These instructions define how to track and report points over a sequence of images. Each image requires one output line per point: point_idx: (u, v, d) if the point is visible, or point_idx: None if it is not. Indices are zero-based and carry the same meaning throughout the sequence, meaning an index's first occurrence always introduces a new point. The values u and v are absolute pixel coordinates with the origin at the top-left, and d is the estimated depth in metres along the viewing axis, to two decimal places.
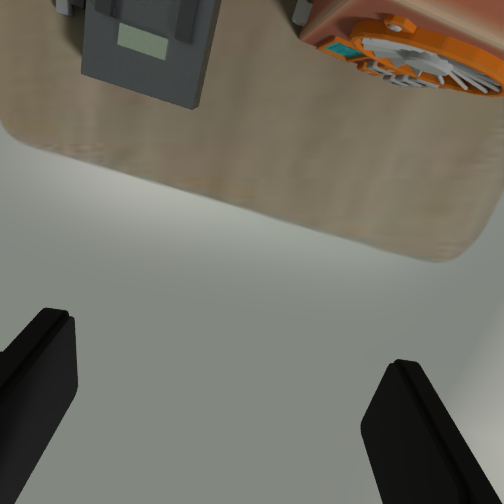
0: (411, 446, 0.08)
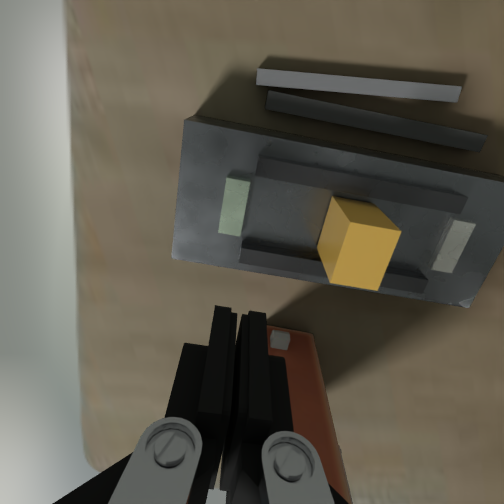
0: (235, 382, 0.09)
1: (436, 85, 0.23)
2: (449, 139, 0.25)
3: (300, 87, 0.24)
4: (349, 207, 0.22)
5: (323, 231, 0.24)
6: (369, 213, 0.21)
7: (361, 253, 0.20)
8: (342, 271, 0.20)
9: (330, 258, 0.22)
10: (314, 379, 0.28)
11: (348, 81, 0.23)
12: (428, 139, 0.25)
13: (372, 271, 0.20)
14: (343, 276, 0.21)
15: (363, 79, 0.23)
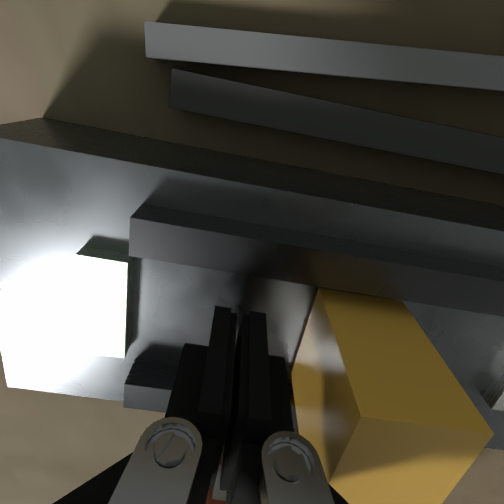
0: (235, 382, 0.09)
1: None
2: None
3: (237, 63, 0.12)
4: (355, 330, 0.10)
5: (302, 352, 0.12)
6: (400, 349, 0.09)
7: (387, 472, 0.08)
8: None
9: None
10: None
11: (335, 50, 0.11)
12: (491, 167, 0.13)
13: (411, 502, 0.09)
14: None
15: (366, 46, 0.11)
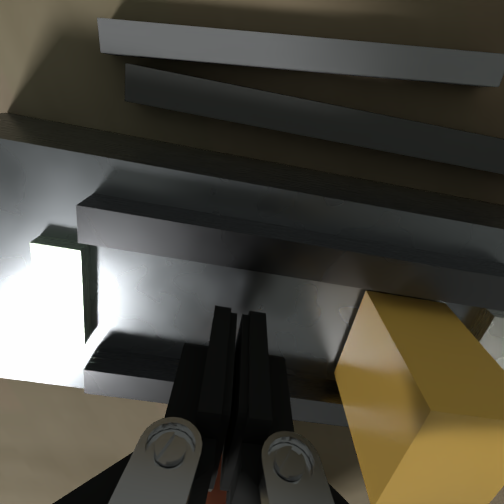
0: (235, 382, 0.09)
1: (459, 52, 0.12)
2: (481, 157, 0.13)
3: (189, 57, 0.12)
4: (408, 331, 0.10)
5: (347, 352, 0.13)
6: (453, 348, 0.10)
7: (449, 463, 0.09)
8: (401, 492, 0.09)
9: (369, 441, 0.10)
10: None
11: (283, 44, 0.12)
12: (442, 157, 0.13)
13: (468, 492, 0.09)
14: (403, 500, 0.09)
15: (313, 40, 0.12)
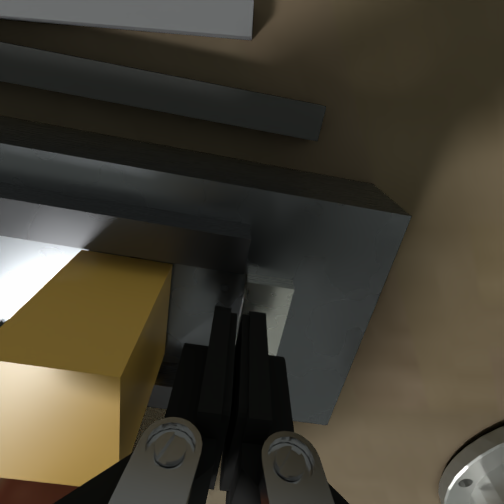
0: (235, 382, 0.09)
1: None
2: (251, 115, 0.12)
3: None
4: (72, 286, 0.10)
5: None
6: (108, 303, 0.09)
7: (39, 422, 0.08)
8: (14, 457, 0.08)
9: None
10: None
11: None
12: (209, 115, 0.12)
13: (88, 456, 0.08)
14: (22, 466, 0.08)
15: None
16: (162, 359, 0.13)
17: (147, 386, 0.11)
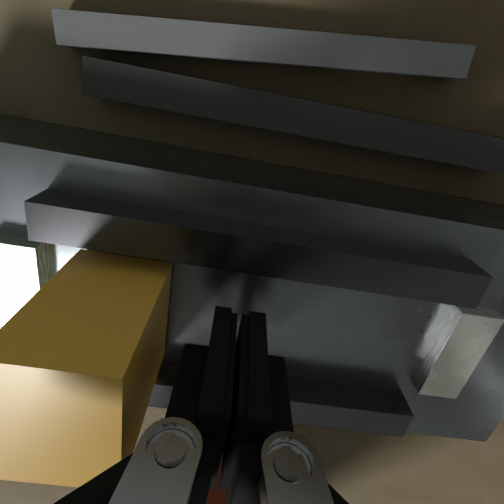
0: (235, 382, 0.09)
1: (424, 43, 0.12)
2: (451, 151, 0.13)
3: (148, 49, 0.12)
4: (72, 286, 0.09)
5: None
6: (108, 303, 0.09)
7: (41, 424, 0.08)
8: (14, 459, 0.08)
9: None
10: None
11: (244, 35, 0.11)
12: (410, 151, 0.13)
13: (90, 457, 0.08)
14: (23, 468, 0.08)
15: (274, 31, 0.11)
16: (162, 358, 0.13)
17: (148, 386, 0.11)
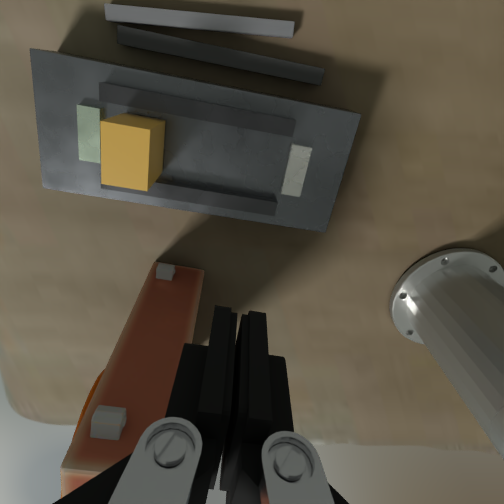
0: (235, 382, 0.09)
1: (271, 20, 0.26)
2: (291, 73, 0.27)
3: (147, 22, 0.26)
4: (125, 117, 0.24)
5: None
6: (141, 121, 0.23)
7: (120, 152, 0.22)
8: (109, 171, 0.23)
9: None
10: (189, 301, 0.31)
11: (190, 16, 0.26)
12: (272, 73, 0.27)
13: (136, 171, 0.23)
14: (111, 176, 0.23)
15: (203, 14, 0.26)
16: None
17: (156, 167, 0.25)
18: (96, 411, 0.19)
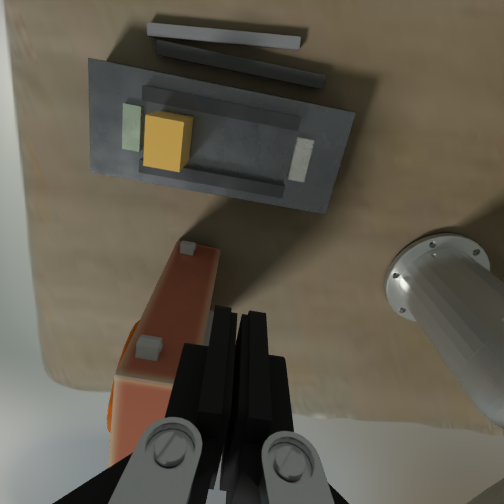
0: (235, 382, 0.09)
1: (281, 35, 0.31)
2: (297, 78, 0.33)
3: (180, 37, 0.32)
4: (162, 113, 0.29)
5: None
6: (175, 116, 0.29)
7: (159, 140, 0.28)
8: (149, 155, 0.28)
9: None
10: (208, 271, 0.36)
11: (215, 32, 0.31)
12: (282, 78, 0.33)
13: (171, 155, 0.28)
14: (151, 160, 0.28)
15: (226, 31, 0.31)
16: (188, 160, 0.33)
17: (185, 154, 0.30)
18: (140, 337, 0.24)
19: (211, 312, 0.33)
